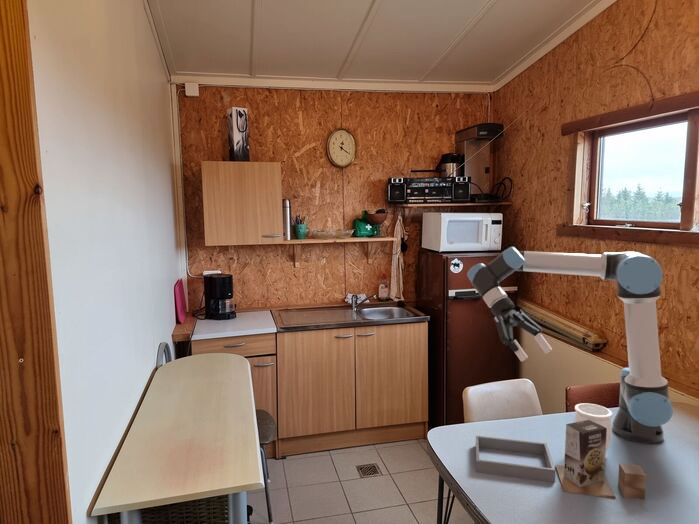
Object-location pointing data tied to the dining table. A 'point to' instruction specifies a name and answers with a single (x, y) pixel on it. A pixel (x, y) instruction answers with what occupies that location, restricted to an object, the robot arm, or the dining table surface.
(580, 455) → the cookie box
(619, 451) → the dining table surface
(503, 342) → the robot arm
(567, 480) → the cork mat
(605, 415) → the jar
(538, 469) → the frame
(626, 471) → the walnut block
